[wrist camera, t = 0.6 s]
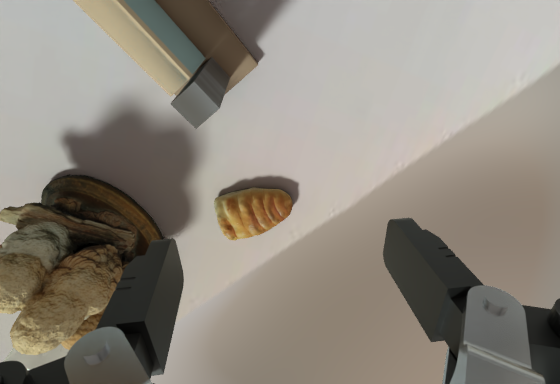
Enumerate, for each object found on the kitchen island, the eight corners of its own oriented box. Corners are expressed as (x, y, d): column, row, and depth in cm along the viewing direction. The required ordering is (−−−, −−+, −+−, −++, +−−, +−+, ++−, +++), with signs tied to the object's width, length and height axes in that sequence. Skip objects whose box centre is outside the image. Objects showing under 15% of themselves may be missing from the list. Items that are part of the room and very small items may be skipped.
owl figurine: (12, 194, 37) (-147, 323, 22) (84, 148, 34) (-43, 261, 20) (123, 281, 46) (60, 413, 31) (187, 250, 43) (151, 379, 29)
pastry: (282, 172, 37) (284, 190, 34) (298, 214, 41) (301, 233, 37) (210, 194, 38) (206, 213, 35) (232, 233, 42) (230, 253, 39)
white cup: (99, 313, 49) (66, 379, 41) (82, 336, 52) (48, 402, 44) (47, 294, 46) (0, 362, 38) (32, 321, 50) (-15, 388, 41)
